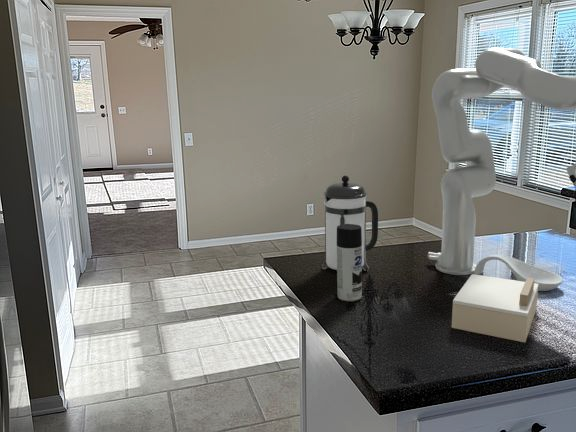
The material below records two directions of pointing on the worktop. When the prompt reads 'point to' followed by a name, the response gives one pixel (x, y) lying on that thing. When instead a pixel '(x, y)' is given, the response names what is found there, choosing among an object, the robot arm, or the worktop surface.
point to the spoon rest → (524, 272)
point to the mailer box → (493, 321)
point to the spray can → (349, 262)
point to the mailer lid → (498, 294)
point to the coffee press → (347, 217)
